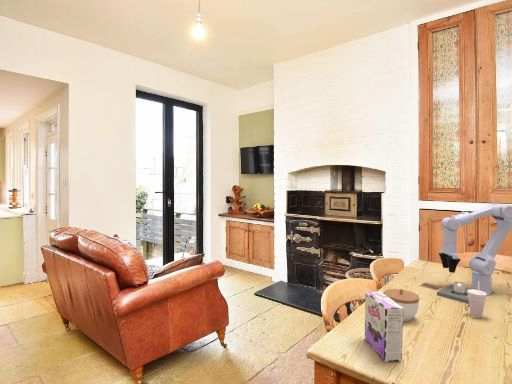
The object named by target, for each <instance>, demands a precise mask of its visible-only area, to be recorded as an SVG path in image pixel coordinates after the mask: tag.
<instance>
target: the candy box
mask: <svg viewBox="0 0 512 384" xmlns="http://www.w3.org/2000/svg"><path fill="white" fill-rule="evenodd" d="M364 300H365V303H364V304H365V308H364V309H365V310H364V340H365V341H366V342H367V343H368V344H369V346H370V347H371V348H372V349H373V350H374V351H375V353H376V354H377V355H378V356H379V357H380V359H381V360H382V361H383V362H385V363H392V362H395V363H396V362H398V363H399V362H402V361H403V360H402V358H403V333H404V332H403V330H404V328H403V327H404V321H403V310H404V308H403V307H402V306H400V305H398V304H397V303H396V302H394V301H393V300H392V299H390V298H389V297H388V296H386V295H385V294H384V292H382V291H381V290H377V291H376V290H374V291H365V298H364Z"/></svg>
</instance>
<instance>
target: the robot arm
mask: <svg viewBox="0 0 512 384" xmlns="http://www.w3.org/2000/svg"><path fill="white" fill-rule="evenodd" d="M487 216H491V218H493V219H494V221H495V222H496V224H497V225H496V227H495V228H494V229H493V231H492V233H491V235H490V237H489V239H488V240H487V242H486V244H485V245H484V247H483V249H482V250H481V252H478V253H476V254H475V255H474V257H472V258H471V259H470V260H469V262H468V266H469V268H470V269H471V289H475V290H478V281H480V287H479V290H480V291H483V292H486V294H487V296H489V295H491V294H492V293H493V292H495V291H494V289H492V281H493V279H492V275H493V274H494V272H495V268H496V265H497V262H496V260H495V258H496V256H497V254H498V252H499V251H500V250H501V247H502V246H503V244H504V242H505V240H506V239H507V237H508V235H509V234H510V233H511V231H512V205H511V204H500V203H499V204H498V203H492V204H488V205H486V206H484V207H482V208H480V209H477V210H475V211H472V212H468V211H461V212H460V213H459V214H455V215H451V216H450V217H444V218H443V219H442V220H441V222H440V227H441V229H442V247H441V249H440V250H439V253H438V256H439V257H440V261H441V264H442V265H441V266H442V268H443V269H448V272H449V273H451V274H455V272H456V270H457V267H458V265H459V263H460V262H461V258H459V254H458V252H457V239H458V238H457V236H458V230H459V229H460V228H461V227H464V226H467V225H471V224H472V223H473V222H474V220H477V219H481V218H484V217H487Z"/></svg>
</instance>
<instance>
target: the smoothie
mask: <svg viewBox="0 0 512 384" xmlns="http://www.w3.org/2000/svg"><path fill="white" fill-rule="evenodd" d="M479 287H480V281H478V290H473V289H472V288H471V289H470V290H467V293H468V298H469V304H468V305H469V306H468V307H469V313H470V316H471V317H473V318H476V319H482V317H483V313H484V307H485V302H486V298H487V297H488V295H487V294H486V293H487V292H486V293H485V292H483V291H480V290H479Z"/></svg>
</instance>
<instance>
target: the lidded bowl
mask: <svg viewBox="0 0 512 384" xmlns="http://www.w3.org/2000/svg"><path fill="white" fill-rule="evenodd" d="M383 293H384V294H385V295H386V296H388V297H389V298H390V299H392V300H393V301H394V302H396V303H397V304H398V305H400V306H402V307H403V308H404V310H403V322H409V321H410V320H411V319H413V318H414V317H415V316H416V315H417V314H418V310H419V303H420V302H419V301H420V296H419V295H418V294H417V293H416V292H413V291H409V290H406V289H402V288H389V289H388V288H387V289H385V290H384V291H383Z"/></svg>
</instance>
